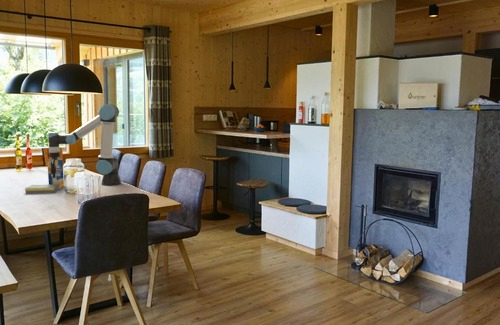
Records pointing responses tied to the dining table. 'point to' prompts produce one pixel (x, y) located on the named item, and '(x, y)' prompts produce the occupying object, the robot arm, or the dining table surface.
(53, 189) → the panel
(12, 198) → the dining table surface
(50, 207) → the dining table surface
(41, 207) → the dining table surface
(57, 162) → the beverage box
